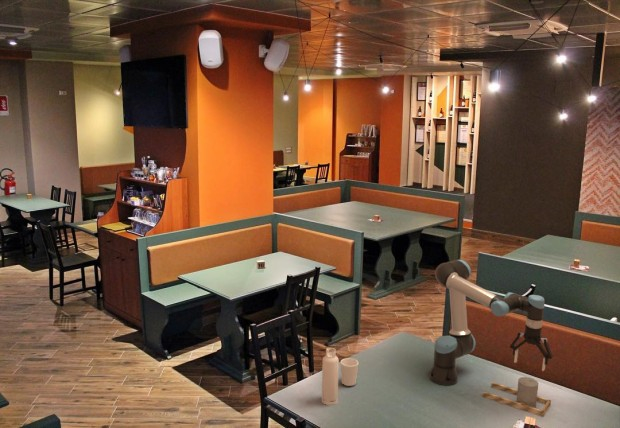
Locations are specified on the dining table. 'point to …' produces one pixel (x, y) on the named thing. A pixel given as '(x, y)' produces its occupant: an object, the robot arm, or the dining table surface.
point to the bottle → (330, 377)
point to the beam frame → (516, 404)
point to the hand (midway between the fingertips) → (529, 365)
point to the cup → (349, 371)
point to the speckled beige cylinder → (527, 391)
